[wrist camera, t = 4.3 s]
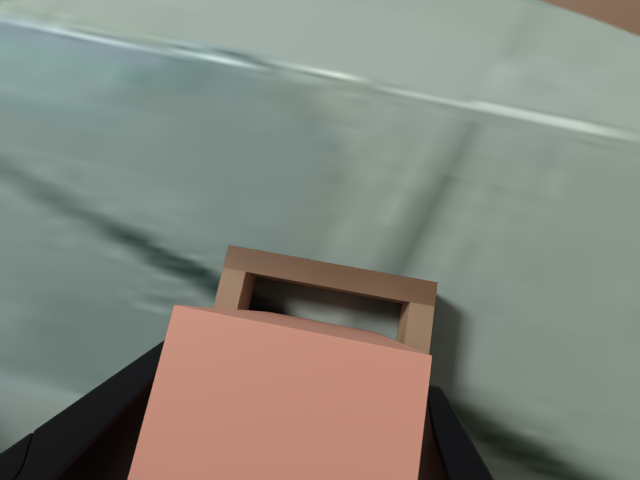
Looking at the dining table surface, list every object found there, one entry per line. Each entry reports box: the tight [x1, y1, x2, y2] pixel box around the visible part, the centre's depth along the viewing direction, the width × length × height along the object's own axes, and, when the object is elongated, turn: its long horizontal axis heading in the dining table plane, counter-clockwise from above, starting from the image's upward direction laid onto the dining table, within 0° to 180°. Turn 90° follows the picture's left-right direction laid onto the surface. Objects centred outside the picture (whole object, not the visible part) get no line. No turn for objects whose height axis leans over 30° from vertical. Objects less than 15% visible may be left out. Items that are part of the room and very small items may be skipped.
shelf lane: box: [213, 245, 438, 354], centre depth 15 cm, size 10×9×2 cm
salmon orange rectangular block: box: [128, 305, 432, 480], centre depth 11 cm, size 5×5×10 cm
